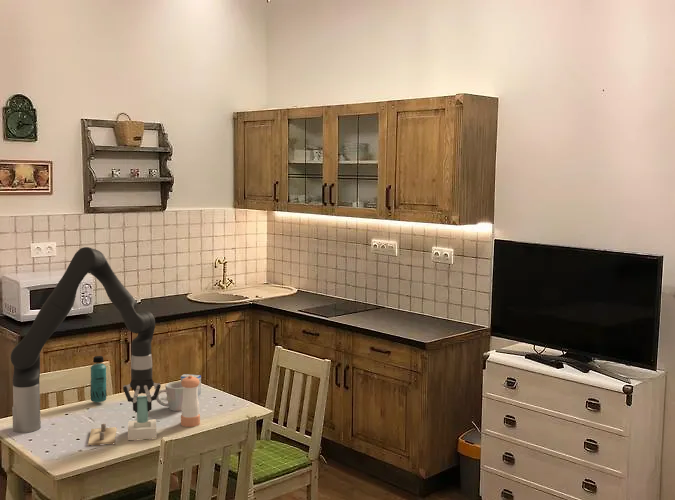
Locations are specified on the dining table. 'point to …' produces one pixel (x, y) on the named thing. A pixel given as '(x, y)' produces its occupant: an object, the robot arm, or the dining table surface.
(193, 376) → the medicine box
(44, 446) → the dining table surface
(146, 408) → the pin
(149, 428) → the socket block
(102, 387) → the beverage bottle
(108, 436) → the board
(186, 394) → the pepper shaker
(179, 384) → the mug
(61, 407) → the dining table surface
